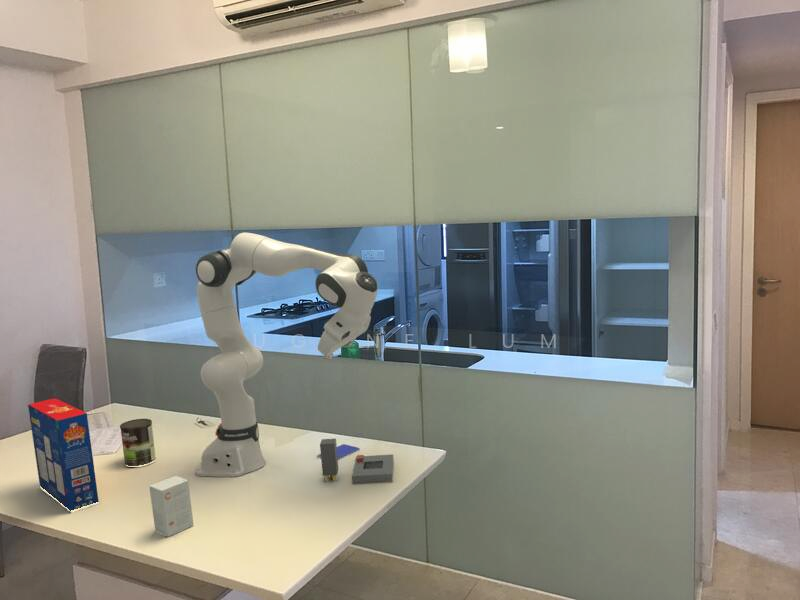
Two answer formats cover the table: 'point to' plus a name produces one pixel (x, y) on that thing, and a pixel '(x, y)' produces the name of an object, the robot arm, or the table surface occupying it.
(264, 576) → the table surface
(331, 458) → the plug
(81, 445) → the blue cereal box
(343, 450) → the hard drive
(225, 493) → the table surface
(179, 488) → the small box
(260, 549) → the table surface
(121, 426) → the coffee can
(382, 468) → the socket plate
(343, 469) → the table surface
